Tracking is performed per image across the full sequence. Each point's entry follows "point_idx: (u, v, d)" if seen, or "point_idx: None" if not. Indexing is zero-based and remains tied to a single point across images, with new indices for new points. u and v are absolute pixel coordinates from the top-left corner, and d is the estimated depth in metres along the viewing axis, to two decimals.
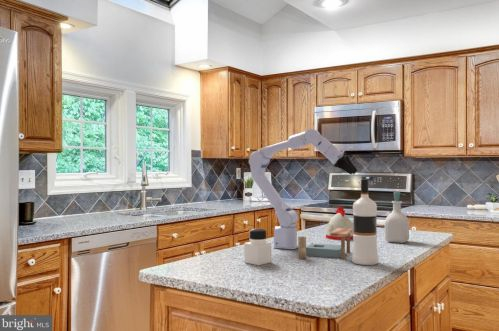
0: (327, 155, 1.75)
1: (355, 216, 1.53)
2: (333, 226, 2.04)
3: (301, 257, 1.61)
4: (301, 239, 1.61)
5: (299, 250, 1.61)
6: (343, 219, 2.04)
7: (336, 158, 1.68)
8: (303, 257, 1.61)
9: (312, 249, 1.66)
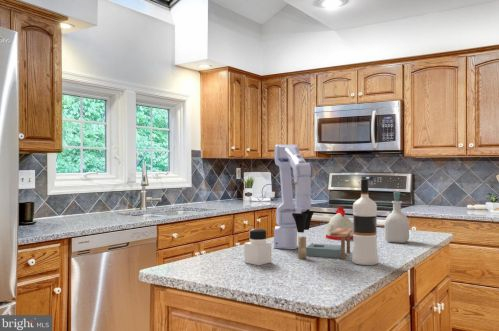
0: (297, 198, 1.61)
1: (355, 216, 1.53)
2: (333, 226, 2.04)
3: (301, 257, 1.61)
4: (301, 239, 1.61)
5: (299, 250, 1.61)
6: (343, 219, 2.04)
7: (298, 211, 1.55)
8: (303, 257, 1.61)
9: (312, 249, 1.66)
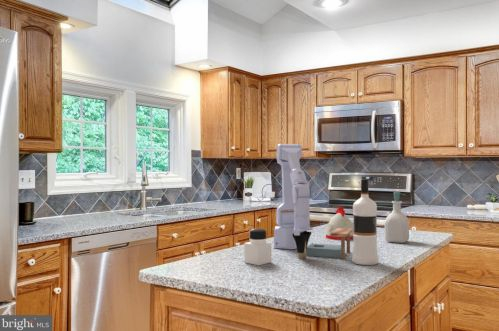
0: (296, 219, 1.61)
1: (355, 216, 1.53)
2: (333, 226, 2.04)
3: (301, 257, 1.61)
4: None
5: None
6: (343, 219, 2.04)
7: (297, 233, 1.55)
8: (303, 257, 1.61)
9: (312, 249, 1.66)
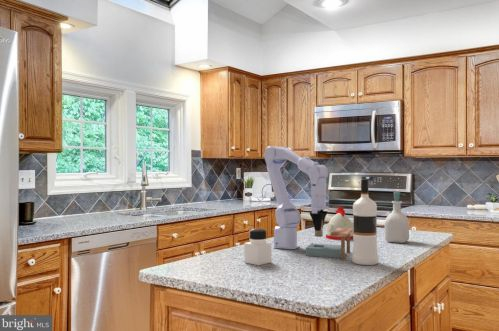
0: (313, 199, 1.69)
1: (355, 216, 1.53)
2: (333, 226, 2.04)
3: (318, 235, 1.69)
4: None
5: None
6: (343, 219, 2.04)
7: (315, 211, 1.64)
8: (320, 235, 1.69)
9: (312, 249, 1.66)
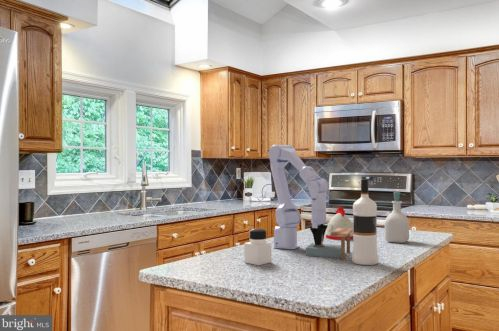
0: (313, 213, 1.69)
1: (355, 216, 1.53)
2: (333, 226, 2.04)
3: None
4: None
5: None
6: (343, 219, 2.04)
7: (315, 226, 1.64)
8: None
9: (312, 249, 1.66)
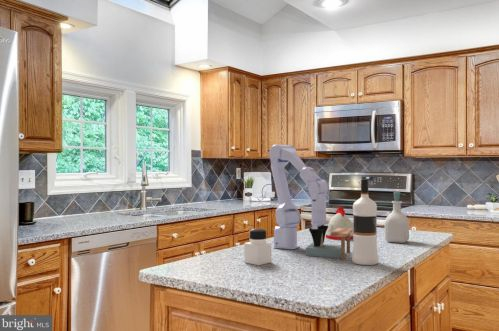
0: (313, 214, 1.69)
1: (355, 216, 1.53)
2: (333, 226, 2.04)
3: None
4: None
5: None
6: (343, 219, 2.04)
7: (315, 227, 1.64)
8: None
9: (312, 249, 1.66)
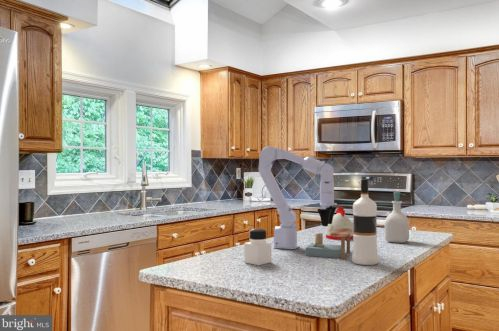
0: (321, 196, 1.79)
1: (355, 216, 1.53)
2: (333, 226, 2.04)
3: None
4: (318, 235, 1.69)
5: (316, 246, 1.69)
6: (343, 219, 2.04)
7: (323, 207, 1.73)
8: None
9: (312, 249, 1.66)
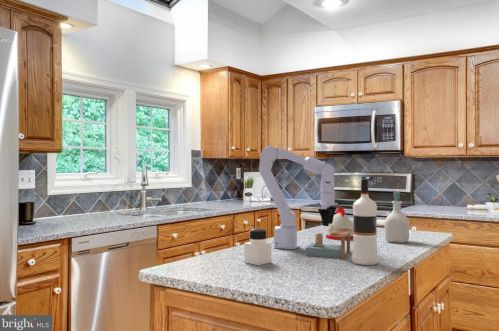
0: (322, 195, 1.80)
1: (355, 216, 1.53)
2: (333, 226, 2.04)
3: None
4: (318, 235, 1.69)
5: (316, 246, 1.69)
6: (343, 219, 2.04)
7: (324, 207, 1.74)
8: None
9: (312, 249, 1.66)
